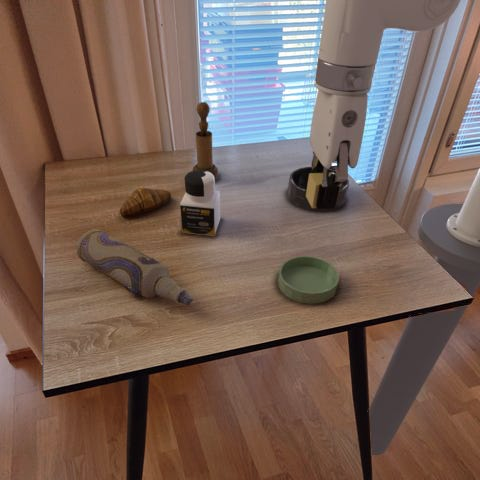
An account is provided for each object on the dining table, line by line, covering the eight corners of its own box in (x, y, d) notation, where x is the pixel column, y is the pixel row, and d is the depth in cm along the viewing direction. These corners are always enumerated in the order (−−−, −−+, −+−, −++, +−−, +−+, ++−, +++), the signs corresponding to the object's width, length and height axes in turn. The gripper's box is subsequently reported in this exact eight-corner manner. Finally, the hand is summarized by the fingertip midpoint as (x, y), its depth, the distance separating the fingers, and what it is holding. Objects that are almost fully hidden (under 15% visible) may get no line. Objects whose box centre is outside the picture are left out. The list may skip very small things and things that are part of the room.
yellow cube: (328, 194, 70) (333, 172, 67) (335, 207, 67) (340, 183, 64) (305, 196, 70) (309, 173, 67) (312, 208, 67) (316, 185, 64)
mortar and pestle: (188, 180, 107) (183, 104, 94) (199, 169, 111) (196, 96, 98) (211, 185, 105) (209, 109, 92) (222, 174, 109) (222, 100, 97)
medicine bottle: (182, 233, 89) (177, 181, 81) (189, 216, 94) (186, 165, 86) (214, 237, 89) (213, 184, 80) (220, 219, 94) (220, 168, 85)
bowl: (334, 182, 108) (338, 165, 105) (353, 210, 98) (357, 192, 95) (282, 184, 106) (283, 167, 103) (295, 213, 96) (297, 195, 93)
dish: (326, 264, 83) (328, 253, 81) (344, 301, 75) (347, 290, 74) (272, 268, 82) (273, 258, 80) (285, 306, 74) (286, 295, 72)
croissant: (161, 193, 101) (159, 173, 98) (178, 204, 98) (177, 184, 95) (113, 212, 95) (108, 192, 91) (129, 224, 91) (126, 204, 88)
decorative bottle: (78, 267, 80) (69, 238, 76) (109, 250, 85) (102, 221, 80) (174, 328, 69) (171, 298, 65) (204, 305, 74) (203, 275, 69)
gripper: (396, 95, 50) (360, 227, 63) (350, 58, 62) (328, 176, 75) (336, 96, 49) (312, 229, 62) (301, 58, 61) (287, 177, 74)
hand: (321, 199), depth 68 cm, fingers closed on yellow cube, 4 cm apart
